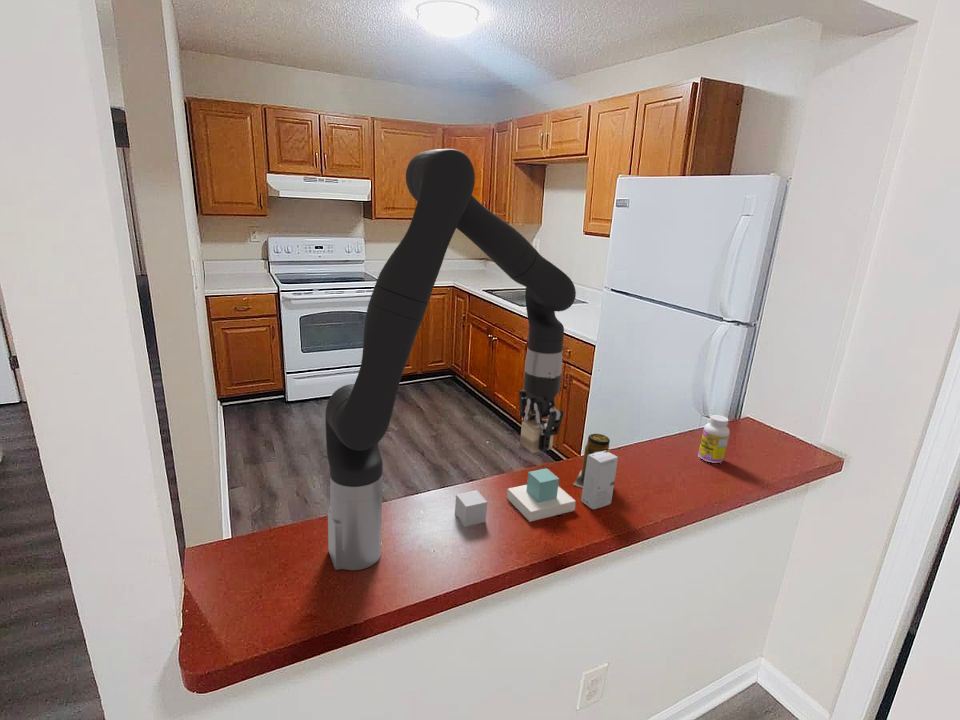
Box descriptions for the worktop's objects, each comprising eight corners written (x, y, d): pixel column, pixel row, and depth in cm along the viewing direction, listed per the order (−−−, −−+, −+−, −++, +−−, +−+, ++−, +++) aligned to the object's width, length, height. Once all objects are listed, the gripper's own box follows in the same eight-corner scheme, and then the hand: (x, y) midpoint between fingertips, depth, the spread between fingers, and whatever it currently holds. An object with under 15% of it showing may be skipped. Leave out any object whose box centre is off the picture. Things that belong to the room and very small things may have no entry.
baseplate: (529, 521, 114) (530, 511, 113) (506, 498, 122) (507, 488, 122) (574, 510, 120) (575, 500, 119) (549, 488, 128) (550, 479, 127)
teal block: (538, 502, 117) (540, 482, 116) (526, 491, 121) (528, 471, 120) (556, 498, 119) (559, 478, 118) (544, 487, 123) (546, 468, 122)
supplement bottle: (692, 454, 151) (701, 413, 148) (711, 453, 153) (720, 412, 150) (708, 466, 145) (718, 423, 142) (728, 464, 147) (737, 422, 144)
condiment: (608, 478, 135) (615, 435, 131) (602, 493, 127) (609, 449, 124) (580, 471, 138) (586, 429, 134) (573, 485, 130) (579, 441, 127)
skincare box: (593, 510, 120) (600, 463, 116) (579, 501, 124) (586, 454, 120) (612, 503, 123) (619, 457, 120) (598, 494, 127) (605, 449, 123)
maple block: (532, 453, 111) (534, 431, 109) (520, 442, 115) (521, 421, 114) (552, 448, 113) (554, 427, 112) (539, 439, 117) (541, 418, 116)
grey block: (464, 527, 111) (466, 506, 109) (454, 514, 115) (456, 494, 113) (485, 522, 113) (487, 502, 111) (475, 509, 117) (476, 490, 116)
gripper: (510, 361, 113) (504, 433, 118) (547, 383, 101) (539, 462, 106) (539, 358, 117) (533, 428, 122) (578, 379, 104) (570, 455, 110)
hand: (536, 443), depth 114 cm, fingers closed on maple block, 5 cm apart
